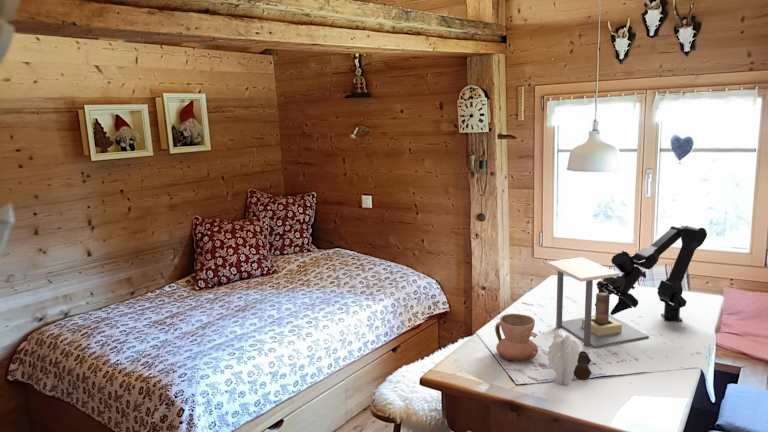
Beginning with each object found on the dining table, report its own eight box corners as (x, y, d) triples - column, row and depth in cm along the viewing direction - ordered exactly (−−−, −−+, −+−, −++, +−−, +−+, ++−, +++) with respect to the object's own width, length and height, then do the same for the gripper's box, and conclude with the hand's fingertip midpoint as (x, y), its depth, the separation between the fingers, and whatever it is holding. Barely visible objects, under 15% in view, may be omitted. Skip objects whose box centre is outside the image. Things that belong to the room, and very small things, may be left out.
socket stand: (607, 315, 240) (610, 252, 235) (648, 337, 218) (653, 268, 212) (543, 326, 232) (545, 261, 226) (580, 350, 210) (582, 279, 204)
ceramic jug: (549, 358, 205) (549, 320, 202) (522, 370, 196) (522, 331, 194) (509, 343, 219) (510, 307, 216) (483, 354, 210) (482, 317, 208)
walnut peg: (597, 325, 229) (599, 291, 226) (609, 328, 226) (611, 294, 223) (592, 329, 226) (594, 295, 223) (605, 332, 222) (606, 297, 219)
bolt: (585, 365, 203) (583, 384, 189) (572, 356, 204) (570, 375, 190) (594, 352, 201) (593, 370, 187) (581, 344, 202) (579, 361, 188)
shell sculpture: (553, 373, 194) (555, 323, 190) (578, 380, 189) (580, 328, 185) (545, 384, 187) (546, 332, 183) (571, 391, 182) (572, 338, 179)
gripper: (600, 260, 231) (576, 290, 230) (633, 274, 213) (606, 306, 213) (616, 277, 235) (592, 306, 234) (649, 291, 217) (623, 323, 217)
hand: (603, 310), depth 224 cm, fingers open, 9 cm apart
